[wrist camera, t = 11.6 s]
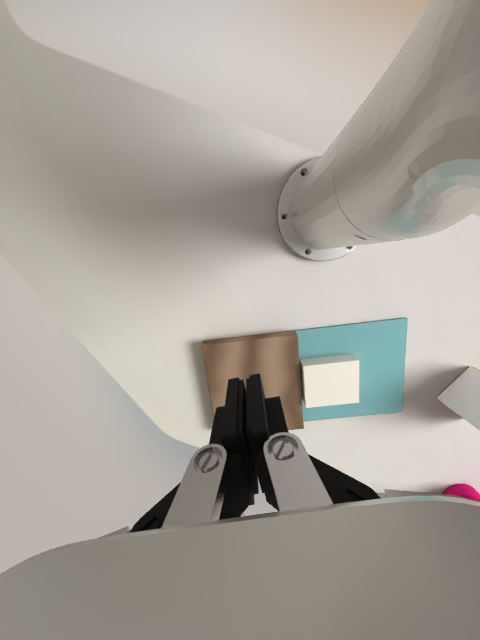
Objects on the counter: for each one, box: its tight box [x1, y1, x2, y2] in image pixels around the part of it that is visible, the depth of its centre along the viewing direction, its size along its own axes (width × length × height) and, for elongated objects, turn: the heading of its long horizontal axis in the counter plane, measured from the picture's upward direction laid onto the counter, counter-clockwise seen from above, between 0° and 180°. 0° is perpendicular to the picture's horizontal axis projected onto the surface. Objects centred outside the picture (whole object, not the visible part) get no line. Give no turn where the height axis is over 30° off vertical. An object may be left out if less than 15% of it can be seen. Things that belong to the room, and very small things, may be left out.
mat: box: [292, 318, 408, 421], centre depth 36 cm, size 17×16×1 cm
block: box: [299, 354, 359, 408], centre depth 35 cm, size 8×7×2 cm
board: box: [202, 331, 304, 430], centre depth 36 cm, size 14×16×2 cm
